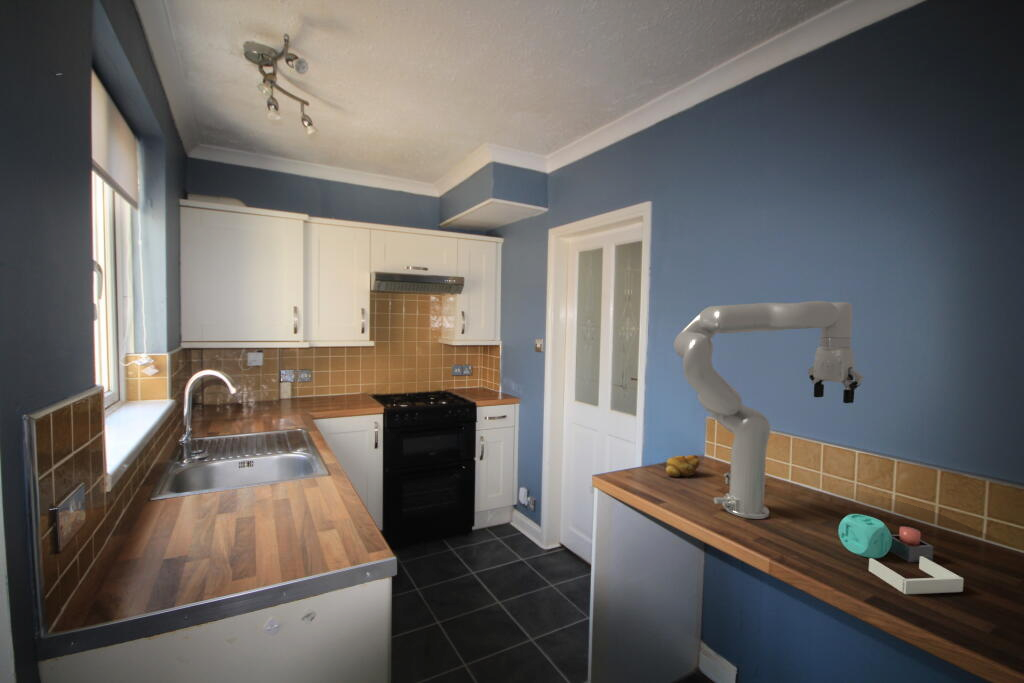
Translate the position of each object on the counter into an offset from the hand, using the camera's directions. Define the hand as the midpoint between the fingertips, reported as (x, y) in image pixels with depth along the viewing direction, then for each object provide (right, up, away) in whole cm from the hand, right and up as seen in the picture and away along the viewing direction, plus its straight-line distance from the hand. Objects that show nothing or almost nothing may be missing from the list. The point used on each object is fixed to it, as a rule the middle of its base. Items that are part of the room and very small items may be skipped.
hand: (832, 399), depth 140 cm
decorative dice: (-6, -37, -21) cm, 42 cm away
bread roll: (-34, -33, +35) cm, 59 cm away
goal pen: (-5, -37, -34) cm, 51 cm away
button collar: (+3, -37, -23) cm, 43 cm away
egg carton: (-15, -34, +26) cm, 45 cm away
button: (+3, -34, -23) cm, 41 cm away
